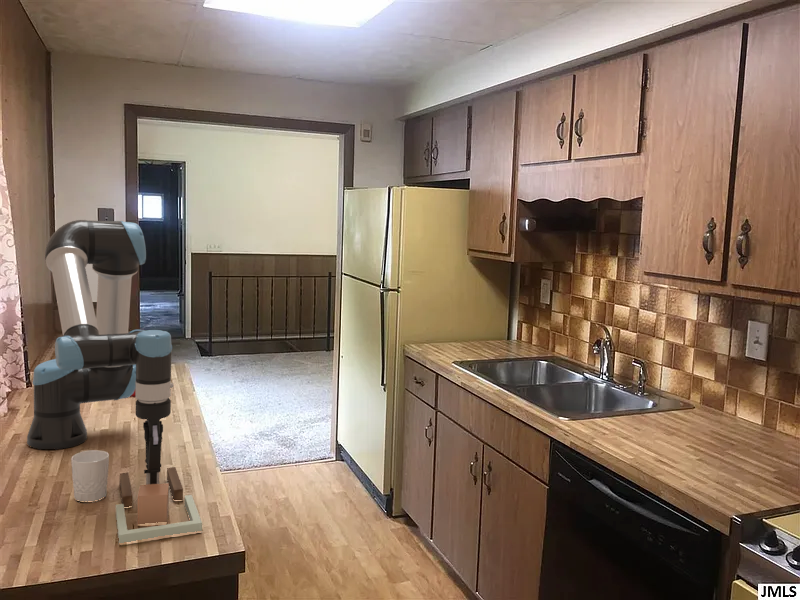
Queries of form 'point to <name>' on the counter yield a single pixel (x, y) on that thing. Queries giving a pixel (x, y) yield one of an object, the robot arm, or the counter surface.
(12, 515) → the counter surface
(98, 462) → the white cup
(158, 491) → the block
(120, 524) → the bay
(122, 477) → the chute
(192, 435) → the counter surface
